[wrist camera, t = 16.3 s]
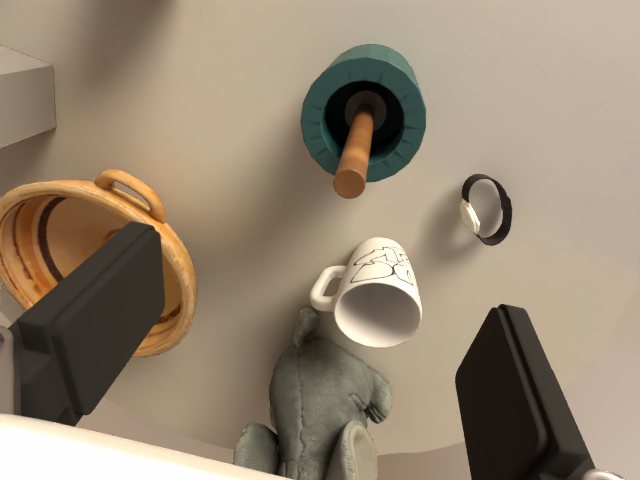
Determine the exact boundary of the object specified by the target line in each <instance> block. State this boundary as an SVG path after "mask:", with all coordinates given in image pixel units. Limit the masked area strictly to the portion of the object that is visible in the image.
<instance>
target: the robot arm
mask: <svg viewBox="0 0 640 480" xmlns="http://www.w3.org/2000/svg"><path fill="white" fill-rule="evenodd" d="M164 308H165V290H164V276H163V262H162V247H161V235H160V233H159V232H157V231H156V230H155V227H154V226H153V225H150V224H145V223H141V222H136V221H131V222H129V223H128V224H126V225H125V226H124V227H123V228H122V229H121V230H120V231H118V232H117V233H116V234H115V235H114V236H113V237H111V238H110V239H109V240H108V241H107V242H106V243H105V244H103V245H102V246H101V247H100V248H99V249H98V250H96V251H95V252H94V253H93V254H92V255H91V256H90V257H88V258H87V259H86V260H85V261H84V262H83V263H82V264H80V265H79V266H78V267H77V268H76V269H75V270H73V271H72V272H71V273H70V274H69V275H68V276H67V277H65V278H64V279H63V280H62V281H61V282H60V283H58V284H57V285H56V286H55V287H54V288H53V289H52V290H50V291H49V292H48V293H47V294H46V295H45V296H43V297H42V298H41V299H40V300H39V301H38V302H37V303H35V304H34V305H33V306H32V307H31V308H30V309H28V310H27V311H26V312H25V313H24V314H23V315H22V316H20V317H19V318H18V319H17V321H16V322H15V323H13V324H12V325H11V326H10V327H9V328H8V329H7V328H6V327H3V326H0V480H293V479H289V478H285V477H281V476H277V475H273V474H269V473H265V472H261V471H257V470H253V469H249V468H245V467H240V466H236V465H232V464H228V463H224V462H220V461H216V460H212V459H208V458H204V457H200V456H195V455H191V454H187V453H183V452H179V451H175V450H171V449H167V448H162V447H158V446H154V445H150V444H146V443H142V442H137V441H134V440H129V439H125V438H121V437H116V436H113V435H109V434H104V433H100V432H95V431H90V430H86V429H82V428H77V427H75V425H76V424H77V423H78V421H79V420H80V419H81V417H82V416H83V415H89V414H90V413H91V412H92V411H93V410H94V409H95V407H96V406H97V404H98V403H99V402H100V400H101V399H102V397H103V396H104V395H105V393H106V392H107V390H108V389H109V388H110V386H111V385H112V383H113V382H114V381H115V379H116V378H117V376H118V375H119V374H120V372H121V371H122V369H123V368H124V367H125V365H126V364H127V362H128V361H129V360H130V358H131V357H132V356H133V354H134V353H135V351H136V350H137V349H138V347H139V346H140V344H141V343H142V342H143V340H144V339H145V337H146V336H147V335H148V333H149V332H150V330H151V329H152V328H153V326H154V325H155V323H156V322H157V321H158V319H159V318H160V316H161V315H162V313H163V311H164ZM455 384H456V390H457V396H458V402H459V408H460V414H461V419H462V425H463V431H464V437H465V443H466V448H467V455H468V461H469V466H470V472H471V477H472V480H626V479H624V478H622V477H621V476H620V475H617V474H615V473H613V472H611V471H608V470H603V469H596V468H595V466H594V463H593V461H592V459H591V457H590V454H589V452H588V450H587V447H586V445H585V443H584V441H583V438H582V436H581V434H580V431H579V429H578V427H577V424H576V422H575V420H574V418H573V415H572V413H571V411H570V408H569V406H568V404H567V402H566V400H565V397H564V395H563V392H562V390H561V388H560V386H559V383H558V381H557V379H556V376H555V374H554V372H553V370H552V369H551V367H550V364H549V362H548V360H547V357H546V355H545V353H544V351H543V348H542V346H541V344H540V341H539V339H538V337H537V334H536V332H535V330H534V328H533V325H532V323H531V321H530V318H529V316H528V314H527V312H526V310H525V309H523V308H519V307H514V306H510V305H505V304H501V305H499V306H498V308H492V309H491V310H490V312H489V313H488V315H487V317H486V319H485V321H484V323H483V324H482V326H481V328H480V330H479V332H478V333H477V335H476V337H475V339H474V341H473V343H472V344H471V346H470V348H469V350H468V352H467V354H466V355H465V357H464V359H463V361H462V363H461V365H460V366H459V368H458V370H457V373H456V378H455ZM55 422H56V423H55ZM59 423H60V424H59Z"/></svg>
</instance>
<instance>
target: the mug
mask: <svg viewBox="0 0 640 480" xmlns="http://www.w3.org/2000/svg"><path fill="white" fill-rule="evenodd" d="M334 278H342V279H341V283H340V286H339V289H338V292H337V293H336V294H335V295H333V296H329V297H324V296H323V294H324V292H325V290H326V288H327V286H328V284H329V282H330V280H331V279H334ZM310 301H311V304H312V306H313V307H314V308H315V309H317V310H320V311H329V312H330V311H334V318H335V321H336V323H337V326H338V327H339V329H340V330H341V331H342V333H343V334H344V335H346V336H347V337H348V338H349V339H351V340H353V341H354V342H356V343H359V344H361V345H364V346H368V347H375V348H386V347H392V346H396V345H399V344H402V343H404V342H406V341H407V340H409V339H410V338H411V337H412V336H413V335H414V334H415V333H416V332H417V330H418V329H419V326H420V324H421V320H422V308H421V302H420V298H419V293H418V288H417V283H416V279H415V276H414V273H413V270H412V268H411V265H410V263H409V260H408V258H407V255H406V253H405V251H404V250H403V248H402V247H401V246H400V245H399V244H398V243H396V242H395V241H393V240H390V239H387V238H371V239H368V240H366V241H364V242H362V243H361V244H360V245H359V246H358V247H357V248H356V250H355V251H354V253H353V255H352V257H351V259H350V261H349V263H348V265H347V266H332V267H329V268H326V269H325V270H323V272H322V273H321V275H320V276H319V278H318V280H317V282H316V283H315V285H314V286H313V288H312V290H311V293H310Z"/></svg>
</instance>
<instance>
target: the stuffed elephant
mask: <svg viewBox="0 0 640 480" xmlns="http://www.w3.org/2000/svg"><path fill="white" fill-rule="evenodd" d="M318 320H319V319H318V314H316V313H314V312H313V310H312V309H311V308H308V307H305V308H301V310H300V312H299V315H298V321H299V323H298V326H297V327H296V329H295V331H294V333H293V343H294V344H293V345H292V346H291V347H290V348H288V349H287V350H286V351H285V352H284V353H283V354H282V356H281V357H280V359H279V361H278V362H277V364H276V366H275V368H274V371H273V375H272V378H271V381H270V385H269V400H270V409H269V410H270V420H271V423H272V427H273V428H274V429H275V430H276V431H277V434H278V435H277V434H276V433H274V432H273V431H272V430H270V429H269V428H268V427H266V426H265V425H262V424H258V423H249V424H248V425H247V427H246V428H245V429H244V430H243V432H242V433H243V435H242V436H241V438H240V439H239V441H238V444H237V446H236V448H235V451H234V462H233V465H236V466H240V467H245V468H249V469H253V470H257V471H261V472H265V473H269V474H273V475H277V476H281V477H285V478H289V479H293V480H377V451H376V447H375V445H374V443H373V439H372V437H371V435H370V434H369V433H368V431H367V418H368V417H370V419H371V420H372V421H373V422H374V423H376V424H377V423H378V424H380V423H381V422H382V421H384V420H385V419H386V418H387V416H388V415H389V413H390V410H391V408H392V398H391V394H392V393H391V387H390V384H389V383H388V381H387V380H386V379H385V378H384V377H383V376H382V375H380V374H379V373H378V372H376V371H375V370H374V369H372V368H371V367H370V366H368V365H366V364H365V363H364V362H363V361H362V360H360V359H359V358H357V357H355V356H354V355H352V354H349V353H348V352H347V351H346V350H345V349H343V348H342V347H339V346H337V345H336V344H334V343H332V342H330V341H328V340H327V339H325V338H323V337H314V335H315V332H316V329H317V325H318Z"/></svg>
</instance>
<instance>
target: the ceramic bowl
mask: <svg viewBox="0 0 640 480" xmlns="http://www.w3.org/2000/svg"><path fill="white" fill-rule="evenodd" d="M114 181H117V182H119V183H122V184H124V185H125V186H127V187H129V188H131V189H132V190H134V191H135V192H137V193H138V194H140V195H141V196H142V197H143V198H144V199H145V200H146V201H147V202H148V204H149V206H150V207H148V206H147V205H145V204H144V203H142V202H141V201H140V200H138V199H137V198H135V197H133V196H131V195H129V194H127V193H125V192H123V191H121V190H118V189H115V187H114ZM131 221H136V222H141V223H145V224H150V225H153V226H154V227H155V230H156V231H157V232H159V233H160V235H161V247H162V262H163V276H164V290H165V308H164V311H163V313H162V315H161V316H160V318H159V319H158V321H157V322H156V323H155V325H154V326H153V328H152V329H151V330H150V332H149V333H148V335H147V336H146V337H145V339H144V340H143V342H142V343H141V344H140V346H139V347H138V349H137V350H136V351H135V353H134V354H133V356H132V357H131V358H141V357H148V356H153V355H158V354H160V353H163V352H165V351H168V350H170V349H171V348H173V347H174V346H175V345H177V344H178V343H180V341H181V340H182V339H183V338H184V337H185V335H186V334H187V333H188V331H189V328H190V326H191V324H192V321H193V315H194V309H195V303H196V297H197V283H196V274H195V270H194V267H193V263H192V260H191V258H190V256H189V254H188V251H187V249H186V247H185V246H184V244H183V243H182V241H181V240H180V238H179V236H178V235H177V234H176V232H175V231H174V230H173V229H172V228H171V227H170V226H169V224H168V223H167V222H166V221H165V212H164V208H163V205H162V202H161V200H160V199H159V197H158V196H157V194H156V193H155V192H154V191H153V190H152V189H151V188H150V187H149V186H147V185H146V184H144V183H143V182H142V181H140V180H138V179H137V178H135V177H133V176H132V175H130V174H128V173H126V172H123V171H121V170H116V169H110V170H106V171H104V172H102V173H101V174H100V175H99V176H98V177H97V179H96V181H95V182H90V181H84V180H55V181H48V182H37V183H31V184H26V185H22V186H19V187H17V188H15V189H13V190H11V191H8V192H7V193H6V194H5V195H4V196H2V197H1V198H0V279H1V281H2V283H3V284H4V286H5V287H6V288H7V290H8V291H9V292H10V294H11V295H12V296H13V297H14V299H15V300H16V301H17V302H18V303H19V304H20V305H21V306H22V307H23V308H24V309H25V310H26V311H27V310H28V309H30V308H31V307H32V306H33V305H34V304H35V303H37V302H38V301H39V300H40V299H41V298H42V297H43V296H45V295H46V294H47V293H48V292H49V291H50V290H52V289H53V288H54V287H55V286H56V285H57V284H58V283H60V282H61V281H62V280H63V279H64V278H65V277H67V276H68V275H69V274H70V273H71V272H72V271H73V270H75V269H76V268H77V267H78V266H79V265H80V264H82V263H83V262H84V261H85V260H86V259H87V258H88V257H90V256H91V255H92V254H93V253H94V252H95V251H96V250H98V249H99V248H100V247H101V246H102V245H103V244H105V243H106V242H107V241H108V240H109V239H110V238H111V237H113V236H114V235H115V234H116V233H117V232H118V231H120V230H121V229H122V228H123V227H124V226H125V225H126V224H128V223H129V222H131Z"/></svg>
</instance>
